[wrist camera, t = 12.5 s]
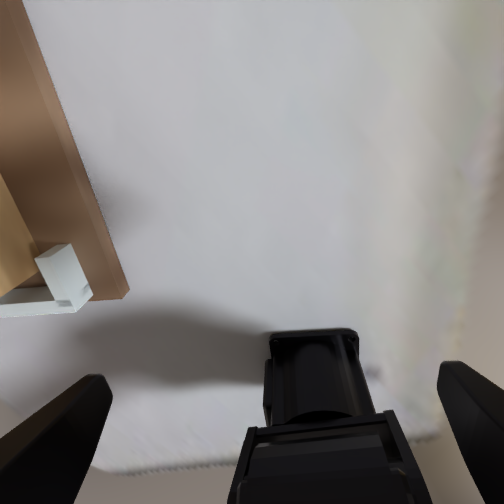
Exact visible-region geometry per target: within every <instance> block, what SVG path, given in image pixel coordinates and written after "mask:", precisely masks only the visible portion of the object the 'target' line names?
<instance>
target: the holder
mask: <svg viewBox="0 0 504 504" xmlns="http://www.w3.org/2000/svg"><path fill="white" fill-rule="evenodd" d="M0 174H1V176H2V178H3V180H4V182H5V184H6V186H7V188H8V190H9V192H10V194H11V196H12V198H13V200H14V202H15V204H16V206H17V208H18V210H19V212H20V214H21V216H22V218H23V220H24V222H25V224H26V226H27V228H28V230H29V232H30V234H31V236H32V238H33V240H34V242H35V244H36V246H37V248H38V250H39V252H40V254H41V255H39V256H38V257H36V258H34V260H35V262H36V264H37V266H38V267H39V269H40V271H39V272H37V273H36V274H34V275H33V276H31V277H30V278H28V279H27V280H25V281H24V282H22V283H21V284H19V285H18V286H16V287H15V288H14V289H12V290H11V291H9V292H8V293H6V294H5V295H3V296H2V297H0V318H4V317H18V316H32V315H47V314H61V313H76V312H77V311H78V310H79V309H80V308H81V307H82V306H83V305H84V304H85V303H86V302H87V301H100V300H113V299H122V298H123V297H124V296H125V295H126V293H127V292H128V291H129V290H130V289H129V286H128V283H127V281H126V278H125V275H124V273H123V270H122V267H121V265H120V262H119V259H118V257H117V254H116V251H115V249H114V246H113V243H112V240H111V238H110V235H109V232H108V230H107V227H106V224H105V222H104V219H103V216H102V214H101V211H100V208H99V206H98V203H97V200H96V198H95V195H94V192H93V190H92V187H91V184H90V182H89V179H88V176H87V174H86V171H85V168H84V166H83V163H82V160H81V158H80V155H79V152H78V150H77V147H76V144H75V141H74V139H73V136H72V133H71V131H70V128H69V125H68V123H67V120H66V117H65V115H64V112H63V109H62V107H61V104H60V101H59V99H58V96H57V93H56V91H55V88H54V85H53V83H52V80H51V77H50V75H49V72H48V69H47V67H46V64H45V61H44V59H43V56H42V53H41V50H40V48H39V45H38V42H37V40H36V37H35V34H34V32H33V29H32V26H31V24H30V21H29V18H28V16H27V13H26V10H25V8H24V5H23V2H22V0H0Z"/></svg>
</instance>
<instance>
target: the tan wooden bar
mask: <svg viewBox="0 0 504 504" xmlns="http://www.w3.org/2000/svg"><path fill="white" fill-rule="evenodd" d="M39 255H41V254H40V252H39V250H38V248H37V246H36V244H35V242H34V240H33V238H32V236H31V234H30V232H29V230H28V228H27V226H26V224H25V222H24V220H23V218H22V216H21V214H20V212H19V210H18V208H17V206H16V204H15V202H14V200H13V198H12V196H11V194H10V192H9V190H8V188H7V186H6V184H5V182H4V180H3V178H2V176H1V174H0V297H2V296H3V295H5V294H6V293H8V292H9V291H11V290H12V289H14V288H15V287H16V286H18V285H19V284H21V283H22V282H24V281H25V280H27V279H28V278H30V277H31V276H33V275H34V274H36V273H37V272H39V271H40V269H39V267H38V266H37V264H36V262H35V260H34V258H36V257H38V256H39Z"/></svg>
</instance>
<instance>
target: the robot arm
mask: <svg viewBox="0 0 504 504" xmlns="http://www.w3.org/2000/svg"><path fill="white" fill-rule="evenodd" d="M350 337H353V338H350ZM275 340H276V341H278V342H274V341H275ZM269 345H270V352H271V358H272V359H267V360H266V362H265V377H264V394H263V409H264V415H265V420H266V426H267V427H261V428H258V427H257V426H256V427H248V430H247V434H246V437H245V440H244V442H243V446H242V449H241V453H240V457H239V460H238V464H237V467H236V471H235V474H234V478H233V481H232V485H231V489H230V492H229V495H228V500H227V504H433V503H432V500H431V497H430V495H429V492H428V489H427V486H426V484H425V481H424V479H423V476H422V474H421V471H420V469H419V467H418V465H417V462H416V460H415V458H414V456H413V453H412V451H411V449H410V447H409V444H408V442H407V440H406V438H405V435H404V433H403V431H402V429H401V426H400V424H399V422H398V420H397V417H396V415H395V413H394V411H393V410H386V411H383V413H376V412H375V408H374V405H373V402H372V399H371V396H370V393H369V389H368V386H367V383H366V380H365V377H364V373H363V370H362V367H361V364H360V361H359V337H358V334H357V332H356V331H354V330H345V331H326V332H307V333H288V334H274V335H272V336H270V339H269ZM437 391H438V395H439V397H440V400H441V403H442V405H443V408H444V410H445V413H446V415H447V418H448V421H449V423H450V426H451V428H452V431H453V433H454V436H455V439H456V441H457V444H458V446H459V449H460V451H461V454H462V456H463V458H464V461H465V463H466V465H467V468H468V470H469V472H470V474H471V476H472V478H473V480H474V482H475V484H476V486H477V488H478V490H479V492H480V494H481V496H482V498H483V500H484V502H485V504H504V390H503V389H501V388H500V387H498V386H497V385H496V384H494V383H493V382H491V381H490V380H488V379H487V378H485V377H484V376H482V375H480V374H479V373H478V372H477V371H475V370H474V369H472V368H471V367H469V366H468V365H466V364H465V363H463V362H461V361H443V362H442V363H441V364H440V369H439V375H438V380H437ZM112 399H113V395H112V391H111V389H110V387H109V385H108V383H107V381H106V379H105V377H104V376H103V375H102V374H88V375H86V376H84V377H83V378H82V379H80V380H79V381H78V382H76V383H75V384H73V385H72V386H71V387H69V388H68V389H67V390H65V391H64V392H63V393H61V394H60V395H59V396H57V397H56V398H55V399H53V400H52V401H50V402H49V403H48V404H46V405H45V406H44V407H42V408H41V409H40V410H38V411H37V412H36V413H34V414H33V415H32V416H30V417H29V418H27V419H26V420H25V421H23V422H22V423H21V424H19V425H18V426H17V427H16V428H14V429H13V430H11V431H10V432H9V433H7V434H6V435H4V436H3V437H2V438H0V504H74V501H75V499H76V497H77V494H78V492H79V490H80V487H81V485H82V483H83V481H84V478H85V476H86V474H87V471H88V469H89V467H90V464H91V462H92V459H93V457H94V454H95V451H96V448H97V445H98V442H99V439H100V436H101V434H102V431H103V428H104V425H105V422H106V419H107V416H108V413H109V410H110V407H111V404H112Z"/></svg>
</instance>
